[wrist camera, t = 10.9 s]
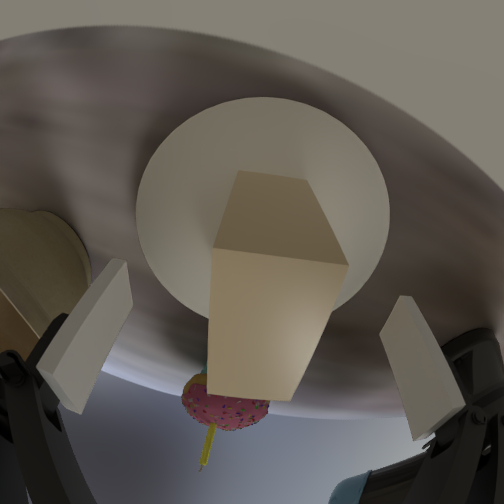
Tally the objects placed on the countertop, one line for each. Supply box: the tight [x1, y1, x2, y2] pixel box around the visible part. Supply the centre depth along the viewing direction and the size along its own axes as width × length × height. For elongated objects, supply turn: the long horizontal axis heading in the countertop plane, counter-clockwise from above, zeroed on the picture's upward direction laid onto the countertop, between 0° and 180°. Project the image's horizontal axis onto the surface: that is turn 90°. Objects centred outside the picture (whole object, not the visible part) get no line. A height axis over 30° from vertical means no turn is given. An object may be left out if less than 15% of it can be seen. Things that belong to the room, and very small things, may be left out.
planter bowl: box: [0, 208, 91, 362], centre depth 17 cm, size 16×16×11 cm
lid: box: [136, 97, 390, 401], centre depth 14 cm, size 17×17×10 cm
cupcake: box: [181, 364, 270, 472], centre depth 22 cm, size 9×8×12 cm
